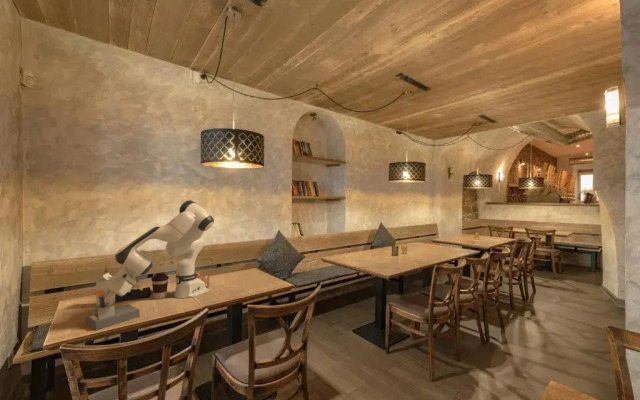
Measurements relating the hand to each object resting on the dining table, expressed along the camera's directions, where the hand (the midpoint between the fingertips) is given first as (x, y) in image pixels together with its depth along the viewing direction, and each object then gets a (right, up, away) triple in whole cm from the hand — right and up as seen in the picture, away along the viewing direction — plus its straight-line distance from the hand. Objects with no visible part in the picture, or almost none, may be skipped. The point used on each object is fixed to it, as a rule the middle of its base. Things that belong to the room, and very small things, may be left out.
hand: (104, 299), depth 154 cm
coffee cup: (+8, -12, +39) cm, 41 cm away
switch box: (+2, -12, +4) cm, 13 cm away
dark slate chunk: (-11, -12, +39) cm, 43 cm away
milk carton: (-17, -12, +25) cm, 33 cm away
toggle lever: (0, -6, 0) cm, 6 cm away
